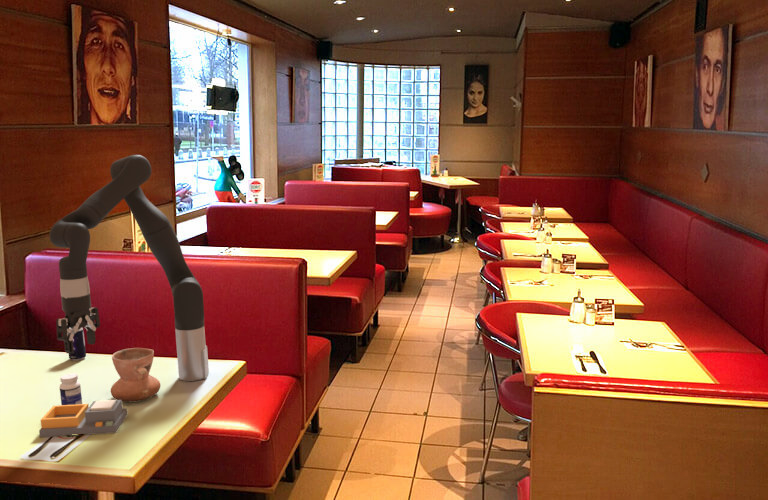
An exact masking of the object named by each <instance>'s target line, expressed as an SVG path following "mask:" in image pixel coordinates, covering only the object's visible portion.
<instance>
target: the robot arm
mask: <svg viewBox="0 0 768 500" xmlns="http://www.w3.org/2000/svg"><path fill="white" fill-rule="evenodd" d="M109 169H110V170H109V173H110V177H111V179H112V180H111V181H110V182H108V183H107V184H106V185H103V187H101V188H99V189H98V190H97V191H95V192H94V193H92V194H91V195H90V196H89V197H88V198H86V200H84V201H83V203H82V204H80V205H79V207H77V209H76V210H73V211H72V212H70V213H68V214H66V215H65V216H64V217H61V218H60V219H59V220H57V221H56V222H55V223H54V224H53V225H52V226H51V229H50V231H49V234H48V235H49V241H50V242H51V244H52V245H53V246H55V247H58V248H65V249H67V248H68V249H69V252H68V255H66V256H63V257H60V259H59V261H58V269H59V278H60V279H59V280H60V281H59V282H60V283H59V288H60V289H59V290H60V298H61V300H60V301H61V310H62V311H63V312H64V317H63V318H56V321H55V323H56V324H55V325H56V338H57V340H58V341H63V344H64V345H63V346H64V351H65V353H66V354H68V355H69V354H72V353H74V346H73V340H72V339H73V336H74V334H75V333H76V332H77V330H78V329H80V328H83V329H84V330H85V329H86V340H87V344H88V345H95V343H96V330H97V328H100V327H101V321H100V316H99V315H100V313H99V309H98V307H94V306H93V307H92V299H91V298H92V297H91V289H90V282H89V278H88V267H87V260H88V256H89V255H88V254H89V250H90V245H91V233H90V230H92V229H94V228H96V227H97V226H98V225H100V223H101V222H102V221H103V220H104V219H105V218H106V217H107V216H108V215H109V214H110V212H111V211H112V210H114V208H115V207H117V206H118V205H119V204H120V203H121V201H123V200H124V201H125V203H126V205H127V206H128V208H129V210H130V212H131V214H132V216H133V218H134V219H135V221H136V223H137V225H138V228H139V230H140V232H141V234H142V236H143V238H144V241H145V242H146V245H147V247H148V248H149V249H150V250H149V251H150V252H151V254H152V255H153V257H154V258H155V259H156V261H157V262H158V263H159V264H160V266H161V268H162V270H163V271H164V274H165V276H166V279H167V282H168V284H169V286H170V289H171V294H172V298H173V299H172V300H173V313H174V329H175V342H176V343H175V344H176V354H177V355H176V356H177V366H178V367H177V368H178V369H177V370H178V379H179V380H180V381H184V382H195V381H200V380H206V379H207V378H208V376H209V372H210V371H209V370H210V369H209V357H208V354H209V353H208V345H206V334H205V333H206V332H205V306H204V293H203V289H202V286H201V284H200V283H199V281H198V280H197V278H196V277H195V276H194V274H193V272H192V270H191V269H190V267H189V266H188V264H187V262H186V259H185V257H184V255H183V250H182V248H181V244H180V242H179V239H178V236H177V233H176V231H175V230H174V228H173V226H172V224H171V221H170V220H169V218H168V217H167V215H165V214H164V212H162V211H161V210H160V209H159V208H158V207H157V206H155V205H154V203H152V202H151V201H150V200H149V199H148V198H147V196H146V195H145V193H144V191H143V190H142V187H141V186H142V185H143V184H144V183H146V182H147V181H149V179H150V178H151V176H152V165H151V163H150V161H149V160H148V159H147V158H146V157H145V156H143V155H141V154H132V155H128V156H125V157H123V158H119V159H117V160H114V162H112V163H111V165H110V167H109ZM69 328H71V329H69ZM69 333H70V334H69ZM68 334H69V336H68Z"/></svg>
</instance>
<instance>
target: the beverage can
mask: <svg viewBox="0 0 768 500" xmlns="http://www.w3.org/2000/svg"><path fill="white" fill-rule="evenodd" d="M69 329H71V328H69ZM84 330H85V329H84V327H82V328H80V329H78V330H77V332H76V333H75V334H74V336H73V339H72V340H73V346H74V353H72V354H69V353H68V359H69V360H71V361H73V362H77V361H78V362H79V361H82V360H84V359H85V357H86V356H87V352H86V351H87V350H86V342H85V341H86V340H85V333H84ZM69 334H70V333H69ZM69 334H68V336H69Z"/></svg>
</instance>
